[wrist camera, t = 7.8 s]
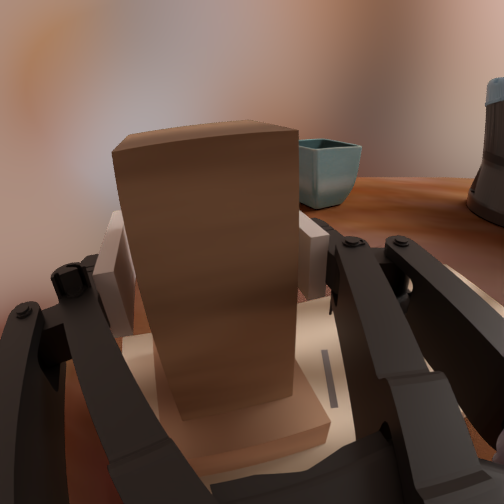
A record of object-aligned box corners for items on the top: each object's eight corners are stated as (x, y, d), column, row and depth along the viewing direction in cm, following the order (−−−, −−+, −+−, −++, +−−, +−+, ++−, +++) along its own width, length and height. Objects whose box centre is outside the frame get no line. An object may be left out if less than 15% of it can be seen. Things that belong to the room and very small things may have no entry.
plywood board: (128, 353, 21) (122, 337, 20) (442, 277, 27) (445, 263, 27) (140, 530, 10) (128, 522, 9) (537, 357, 16) (546, 342, 15)
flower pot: (322, 191, 52) (323, 137, 48) (360, 206, 45) (363, 145, 41) (277, 200, 49) (276, 141, 45) (314, 217, 42) (314, 149, 38)
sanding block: (159, 351, 19) (111, 135, 13) (266, 330, 21) (258, 116, 15) (177, 480, 11) (52, 176, 5) (325, 443, 13) (370, 138, 7)
